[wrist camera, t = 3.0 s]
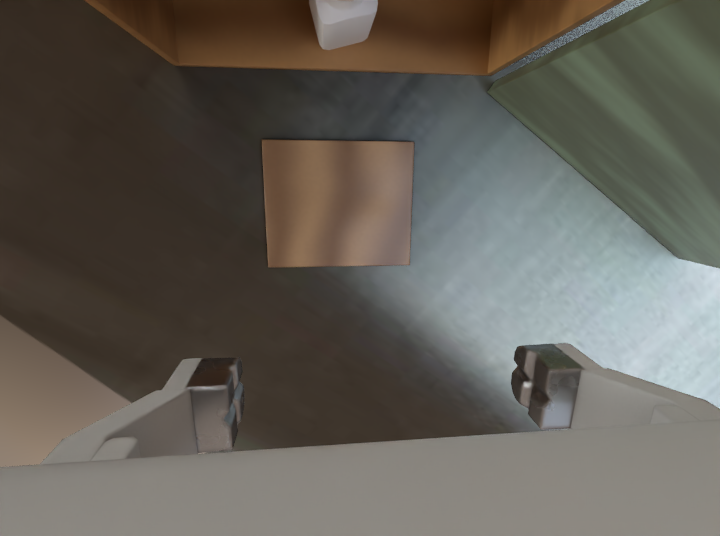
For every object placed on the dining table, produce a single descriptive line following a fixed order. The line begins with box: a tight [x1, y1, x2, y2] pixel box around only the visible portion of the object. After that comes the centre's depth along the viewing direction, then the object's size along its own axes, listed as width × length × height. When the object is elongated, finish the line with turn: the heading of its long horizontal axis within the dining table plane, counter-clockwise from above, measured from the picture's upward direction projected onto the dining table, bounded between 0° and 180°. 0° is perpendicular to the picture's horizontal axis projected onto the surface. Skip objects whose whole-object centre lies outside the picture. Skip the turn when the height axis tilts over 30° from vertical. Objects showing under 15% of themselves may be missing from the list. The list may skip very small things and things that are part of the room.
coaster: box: [262, 139, 414, 267], centre depth 34 cm, size 13×11×1 cm
